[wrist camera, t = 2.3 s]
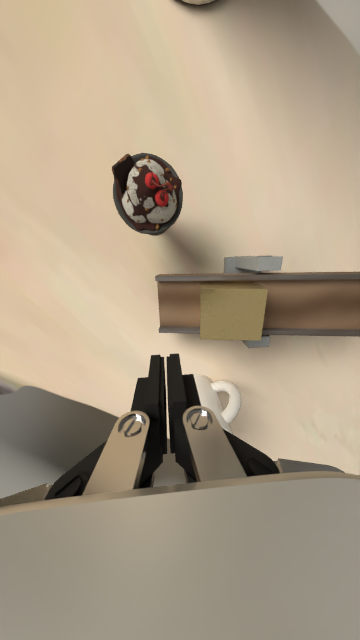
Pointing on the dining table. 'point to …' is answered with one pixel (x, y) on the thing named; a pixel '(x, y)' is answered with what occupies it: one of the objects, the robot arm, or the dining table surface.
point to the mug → (211, 399)
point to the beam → (271, 302)
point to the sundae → (147, 193)
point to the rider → (232, 310)
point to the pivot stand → (253, 266)
